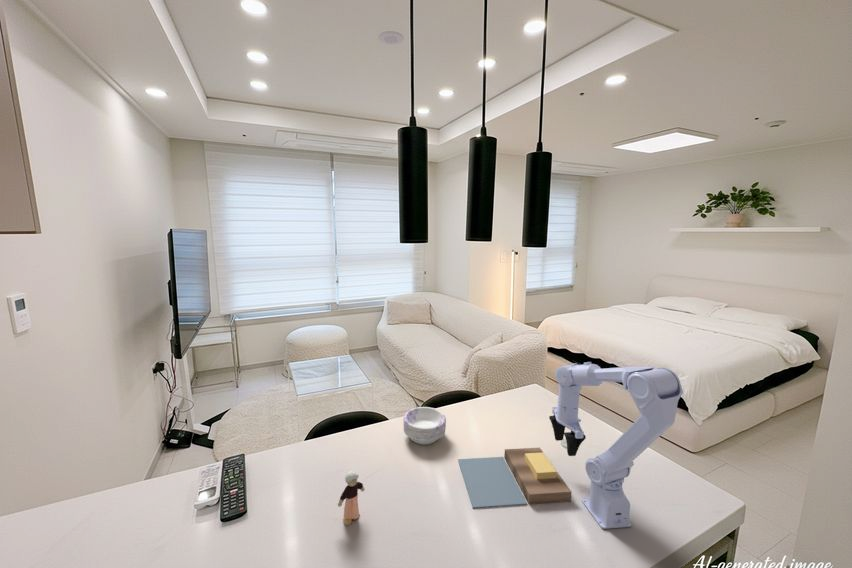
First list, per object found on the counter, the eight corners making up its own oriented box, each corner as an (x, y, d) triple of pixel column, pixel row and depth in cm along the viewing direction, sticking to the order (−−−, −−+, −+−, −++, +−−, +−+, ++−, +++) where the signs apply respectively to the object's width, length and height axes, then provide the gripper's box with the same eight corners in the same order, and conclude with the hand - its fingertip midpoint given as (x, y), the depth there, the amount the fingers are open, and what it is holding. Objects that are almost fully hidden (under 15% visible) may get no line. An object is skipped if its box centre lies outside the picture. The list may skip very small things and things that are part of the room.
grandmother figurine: (347, 531, 83) (346, 483, 82) (336, 524, 85) (335, 477, 84) (368, 510, 90) (368, 466, 88) (357, 504, 92) (357, 460, 90)
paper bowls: (448, 449, 117) (448, 427, 116) (403, 450, 116) (403, 428, 114) (442, 425, 132) (443, 405, 131) (403, 426, 131) (403, 406, 130)
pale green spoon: (558, 424, 133) (579, 447, 118) (557, 426, 133) (579, 449, 118) (545, 425, 132) (565, 448, 117) (545, 427, 132) (565, 450, 117)
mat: (526, 504, 93) (527, 503, 93) (472, 508, 91) (472, 507, 91) (502, 457, 112) (502, 456, 112) (457, 460, 111) (458, 459, 111)
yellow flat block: (556, 478, 99) (557, 471, 99) (536, 479, 98) (537, 472, 98) (542, 458, 108) (543, 452, 108) (524, 459, 107) (524, 453, 107)
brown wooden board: (570, 501, 94) (571, 491, 94) (528, 504, 93) (529, 494, 92) (539, 455, 114) (539, 447, 113) (504, 457, 112) (504, 449, 112)
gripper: (595, 416, 95) (591, 461, 96) (568, 393, 109) (565, 433, 111) (571, 417, 94) (567, 463, 96) (547, 394, 108) (544, 434, 110)
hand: (565, 447), depth 103 cm, fingers open, 7 cm apart
